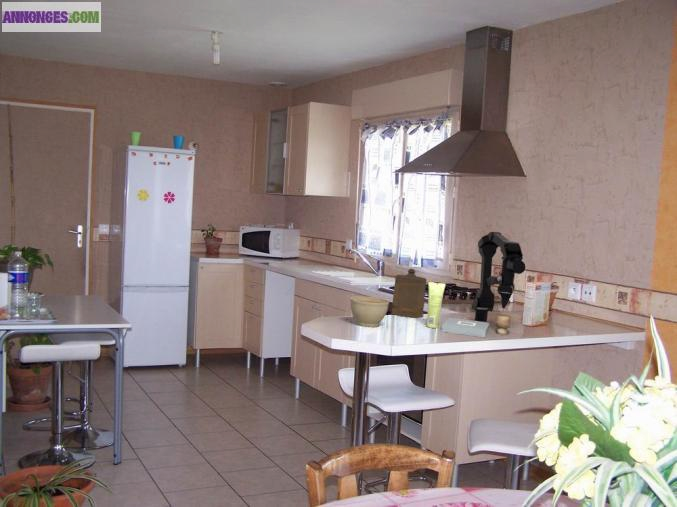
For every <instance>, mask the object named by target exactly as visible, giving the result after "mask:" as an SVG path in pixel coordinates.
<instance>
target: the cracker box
mask: <svg viewBox="0 0 677 507" xmlns="http://www.w3.org/2000/svg"><path fill="white" fill-rule="evenodd" d="M551 287H552V282H550V281H549V282H547V281H526V283H525V290H524V291H525V292H524V301H523V311H522V313H523V314H522V323H521V324H522V325H523V326H525V325H527V326H526V327H531V328H533V327H539V326H540V327H541V326H547V325H548V318H549V309H550V301H551V300H550V299H551V289H552V288H551Z"/></svg>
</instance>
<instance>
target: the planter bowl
mask: <svg viewBox="0 0 677 507" xmlns="http://www.w3.org/2000/svg"><path fill="white" fill-rule="evenodd" d="M389 305H390V301H389V300H387V299H384V298H380V297H379V298H378V297H373V296H352V297H350V309H351V313H352V316H353V318H354V320H355V322H356V325H358V326H361V327H366V328H369V327H370V328H376V327H379V326H380V323H381V322H382V321H383V320H384V319H385V316H386V315H387V312H388V309H389Z"/></svg>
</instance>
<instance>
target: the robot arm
mask: <svg viewBox="0 0 677 507" xmlns="http://www.w3.org/2000/svg"><path fill="white" fill-rule="evenodd" d="M477 247H478V254H479V255H480V257H481V266H480V282H479V284H480V285H479V289H478V291H477V292H476V293H475V298H474V299H473V302H472V303H471V309H472V310H473V311H475V313H474V320H473V321H480V322H487V323H489V322H488V315H489V314H488V313H489V312H493V310H494V307H495V304H496V303H495V293H494V292H493V290H492V289H491V286H493V285H494V286H495V285H498V286H497V291H496V292H497V293H498V295H499V296H500V300H501V308H502V309H505V308H506V307H507V305H508V303H509V301H510V299H511V297H512V295H513V293H514V291H515V286H516V285H515V277H516V274H518V275H521V274H523V273H524V272H525V271H526V269H527V268H526V266H527V265H526V264H525V262H524V261H523V259H524V258H523V256H524V255H523V251H522V247H521V245H520V243H519V242H516V241H512V240H509V239H508V238H506V236H504V235H502V233H501V232H500V231H490V232H489V233H487V234H486V235H484V236H482V237H480V239H479V240H478V242H477ZM498 248H500V252H501V254H502V257H501V258H500V259H501V260H502V263H501V271H500V273H499V275H497V276H494V275H492V269H493V268H492V267H493V258H494V256H495V254H496V253H497V249H498Z"/></svg>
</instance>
